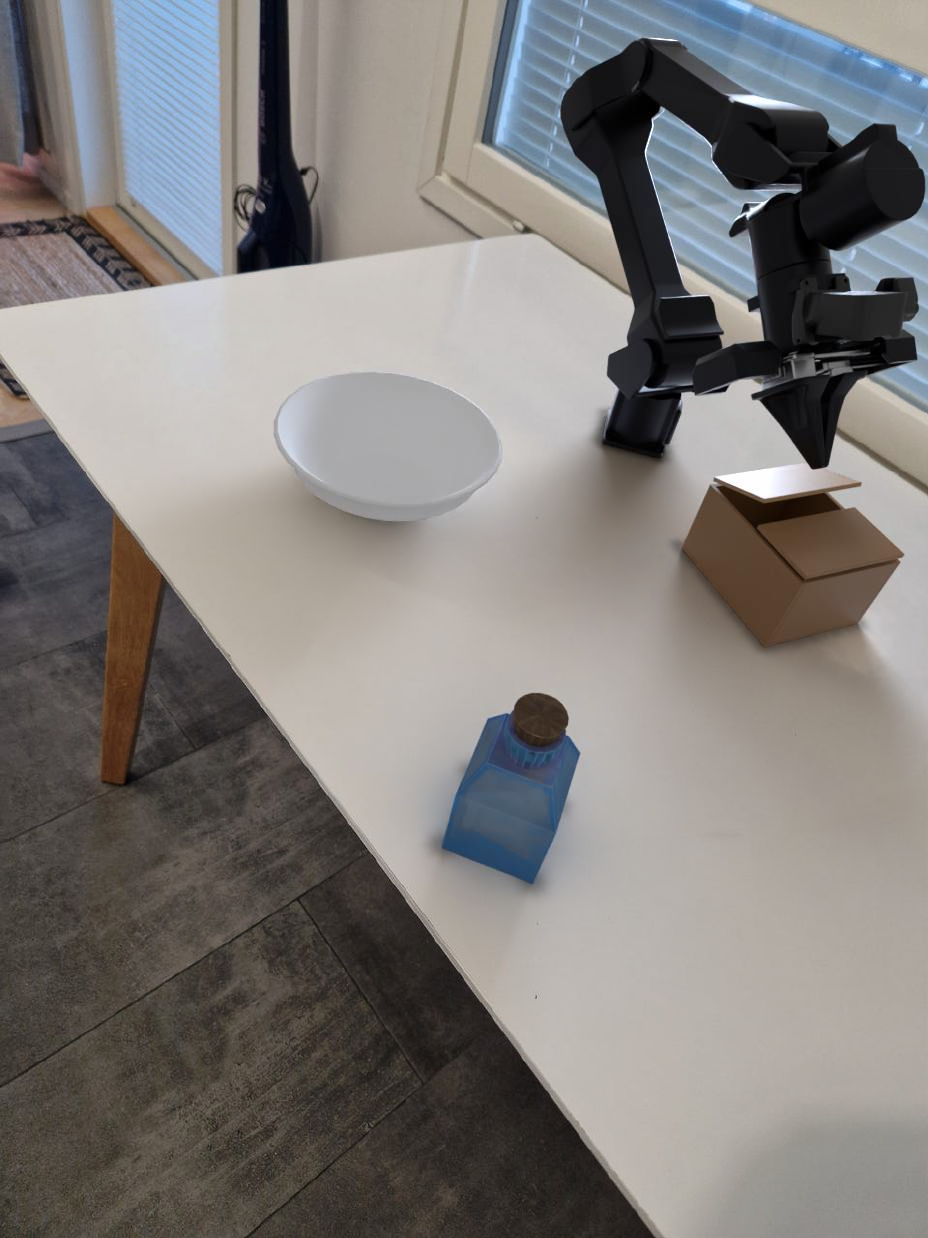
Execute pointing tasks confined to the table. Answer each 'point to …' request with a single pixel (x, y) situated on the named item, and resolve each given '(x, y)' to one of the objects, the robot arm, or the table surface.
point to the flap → (786, 482)
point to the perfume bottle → (515, 788)
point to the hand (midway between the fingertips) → (820, 468)
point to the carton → (790, 561)
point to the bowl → (387, 444)
